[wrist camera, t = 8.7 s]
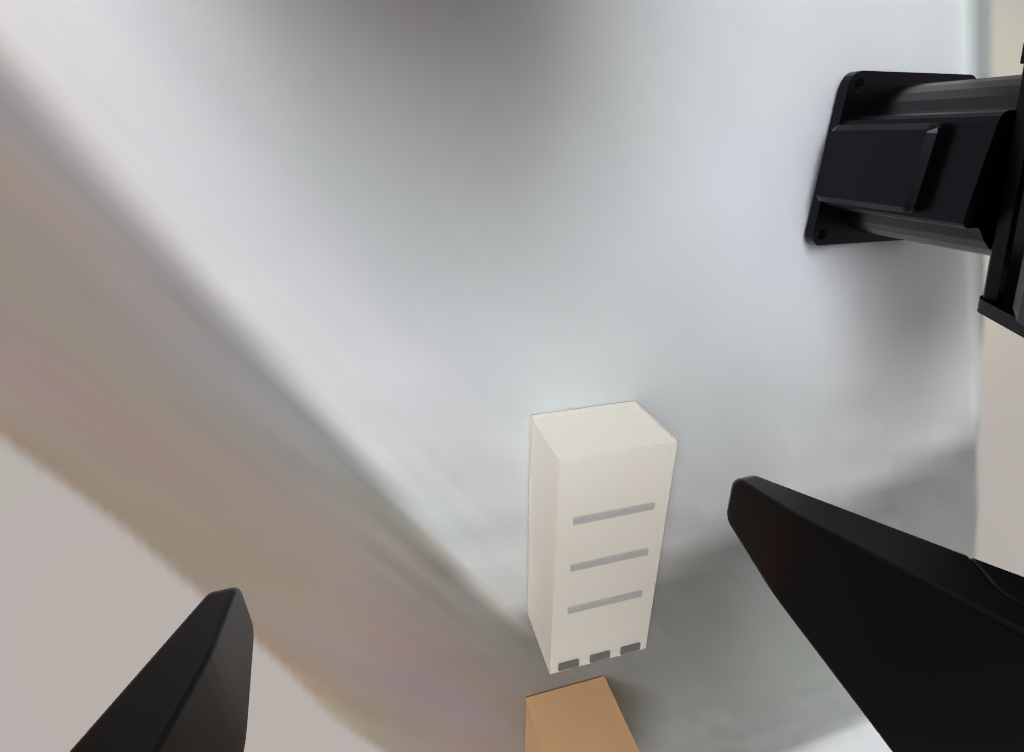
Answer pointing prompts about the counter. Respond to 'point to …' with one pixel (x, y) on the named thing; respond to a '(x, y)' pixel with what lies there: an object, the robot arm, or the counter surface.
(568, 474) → the white slotted tower
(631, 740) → the light brown cardboard box
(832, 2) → the counter surface
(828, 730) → the counter surface
